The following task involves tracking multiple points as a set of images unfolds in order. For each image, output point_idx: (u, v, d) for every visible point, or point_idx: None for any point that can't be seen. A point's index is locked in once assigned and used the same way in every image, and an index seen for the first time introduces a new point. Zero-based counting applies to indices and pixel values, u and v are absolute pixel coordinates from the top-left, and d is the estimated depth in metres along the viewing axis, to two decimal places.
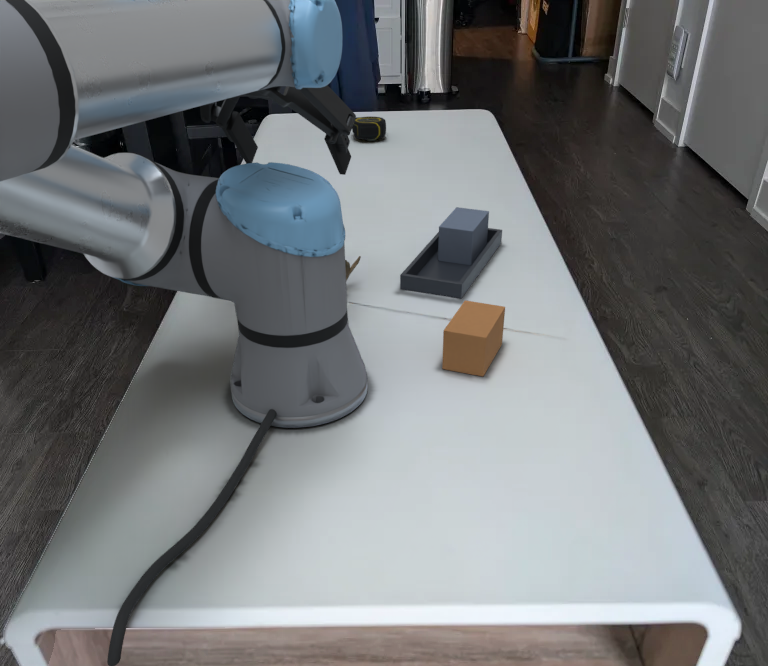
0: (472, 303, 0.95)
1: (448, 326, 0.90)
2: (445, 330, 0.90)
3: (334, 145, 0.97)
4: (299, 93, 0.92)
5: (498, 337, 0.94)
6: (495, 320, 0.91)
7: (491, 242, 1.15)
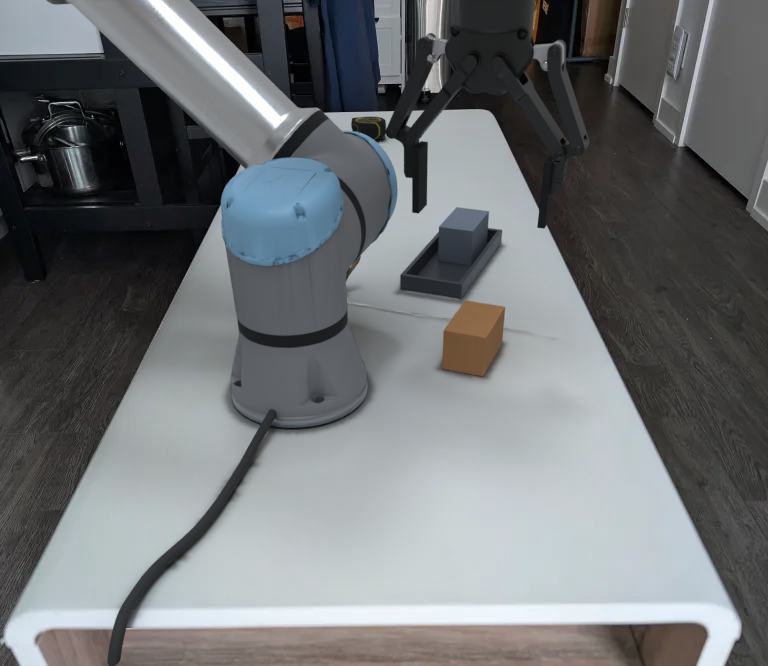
0: (472, 303, 0.95)
1: (448, 326, 0.90)
2: (445, 330, 0.90)
3: (550, 177, 0.78)
4: (534, 95, 0.76)
5: (498, 337, 0.94)
6: (495, 320, 0.91)
7: (491, 242, 1.15)
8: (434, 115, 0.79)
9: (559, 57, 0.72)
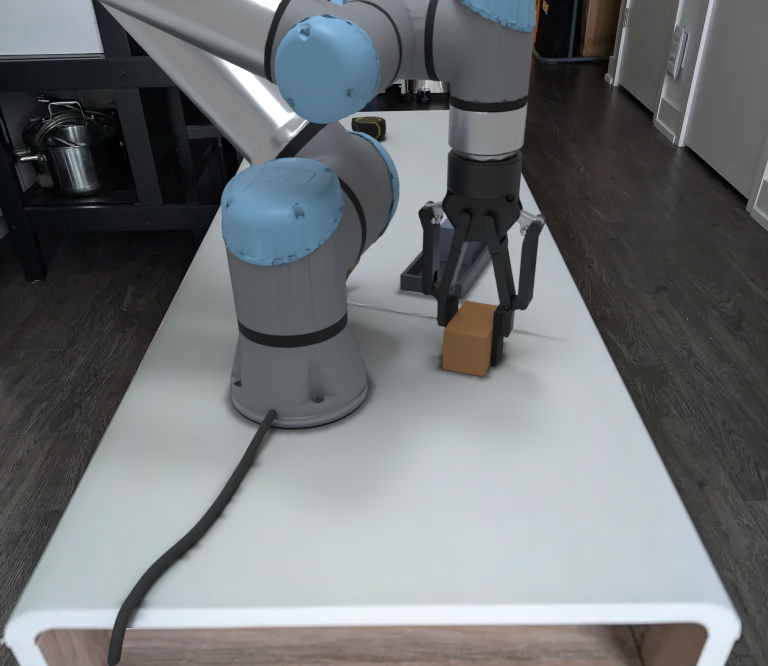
0: (472, 303, 0.95)
1: (448, 326, 0.90)
2: (445, 330, 0.90)
3: (500, 324, 0.90)
4: (506, 253, 0.86)
5: None
6: None
7: None
8: (454, 269, 0.88)
9: (537, 234, 0.82)
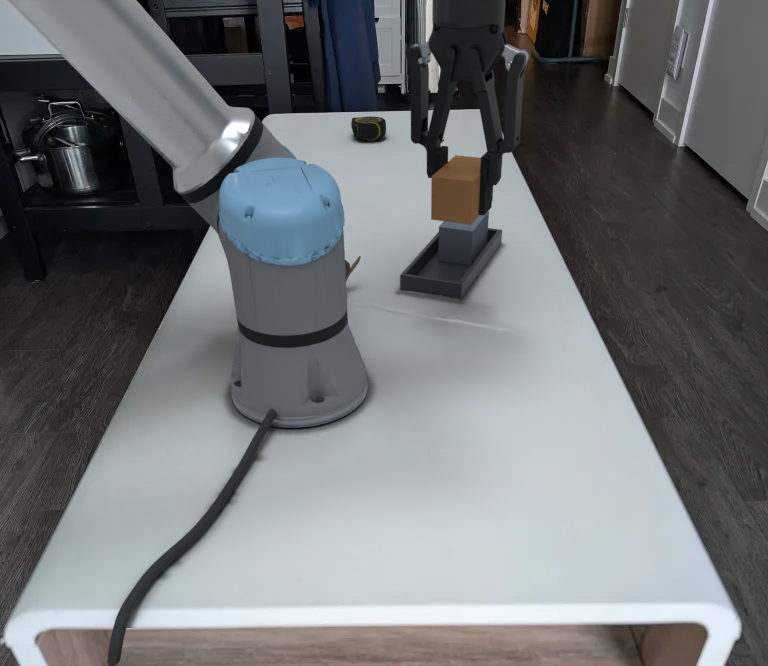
0: (462, 157, 0.96)
1: (436, 173, 0.92)
2: (433, 176, 0.91)
3: (487, 170, 0.91)
4: (492, 93, 0.87)
5: None
6: None
7: (491, 242, 1.15)
8: (441, 113, 0.89)
9: (521, 66, 0.83)
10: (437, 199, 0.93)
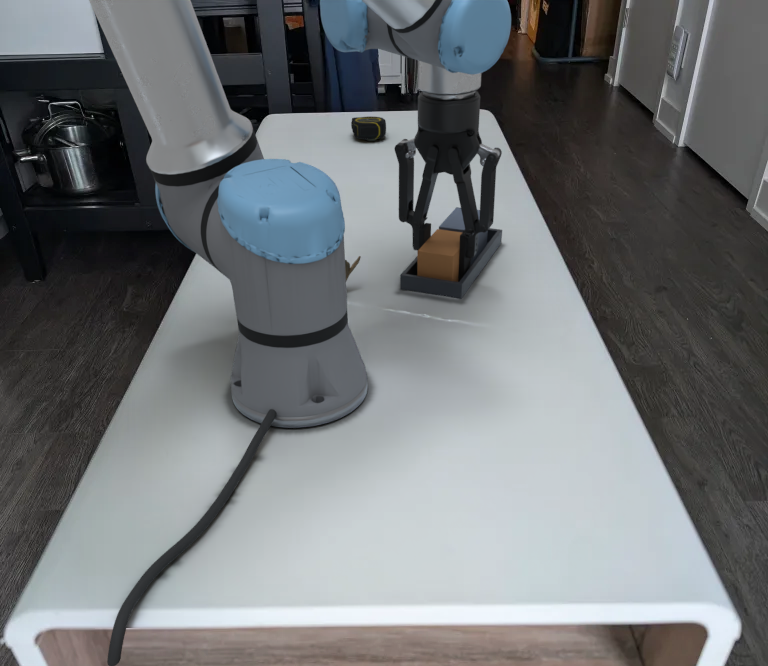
0: (443, 231, 1.10)
1: (421, 248, 1.06)
2: (419, 251, 1.05)
3: (465, 246, 1.06)
4: (469, 182, 1.01)
5: None
6: None
7: (491, 242, 1.15)
8: (425, 198, 1.03)
9: (493, 163, 0.97)
10: (422, 270, 1.07)
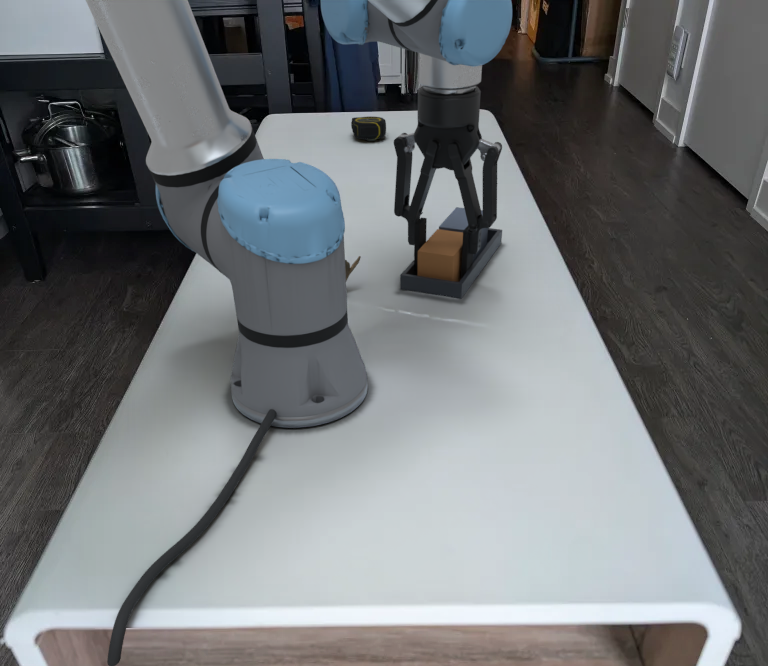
0: (443, 231, 1.10)
1: (422, 248, 1.06)
2: (419, 251, 1.05)
3: (468, 242, 1.05)
4: (470, 178, 1.01)
5: None
6: (462, 243, 1.07)
7: (491, 242, 1.15)
8: (422, 193, 1.03)
9: (494, 157, 0.97)
10: (422, 270, 1.07)
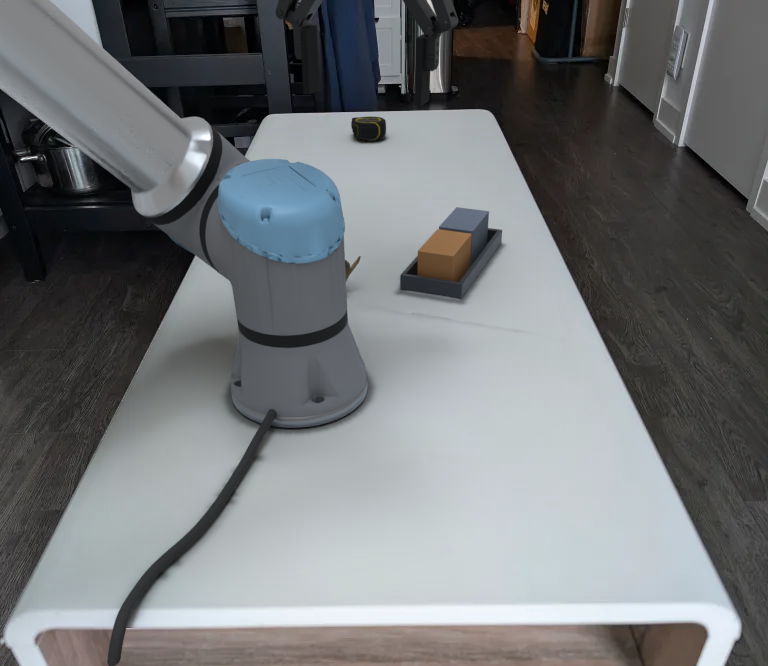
0: (443, 231, 1.10)
1: (422, 248, 1.06)
2: (419, 251, 1.05)
3: (423, 53, 0.84)
4: None
5: (465, 260, 1.10)
6: (462, 243, 1.07)
7: (491, 242, 1.15)
8: None
9: None
10: (422, 270, 1.07)
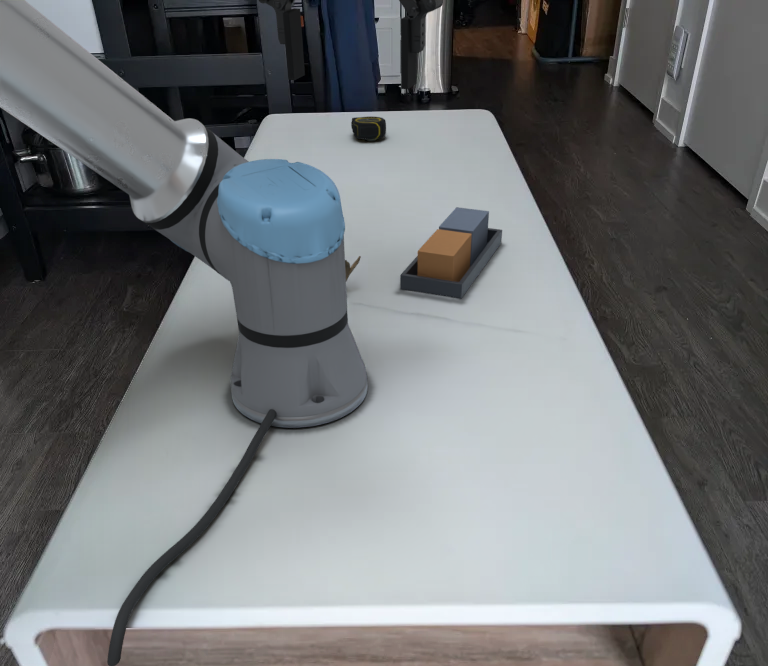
0: (443, 231, 1.10)
1: (422, 248, 1.06)
2: (419, 251, 1.05)
3: (408, 35, 0.82)
4: None
5: (465, 260, 1.10)
6: (462, 243, 1.07)
7: (491, 242, 1.15)
8: None
9: None
10: (422, 270, 1.07)
